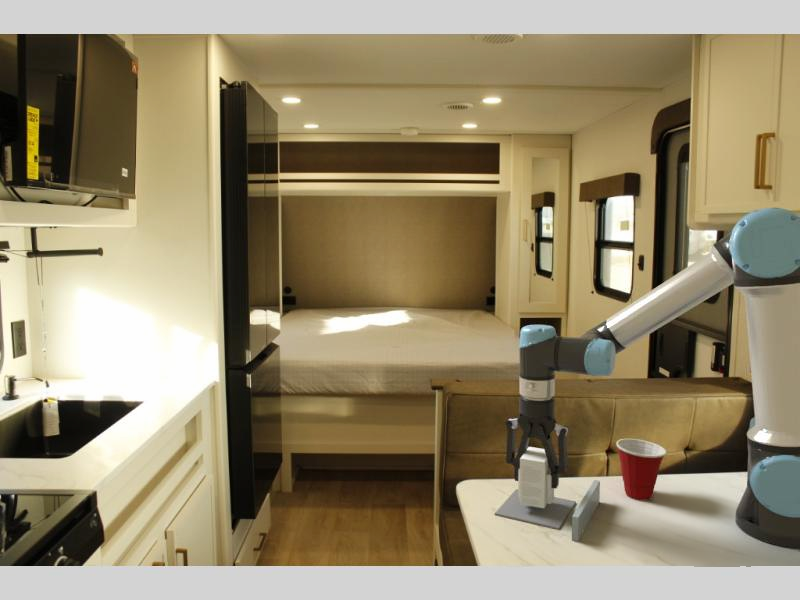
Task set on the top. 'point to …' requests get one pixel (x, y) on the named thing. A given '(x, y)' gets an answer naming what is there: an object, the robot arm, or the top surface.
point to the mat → (536, 511)
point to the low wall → (585, 510)
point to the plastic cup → (639, 466)
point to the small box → (534, 477)
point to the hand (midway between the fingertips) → (536, 497)
